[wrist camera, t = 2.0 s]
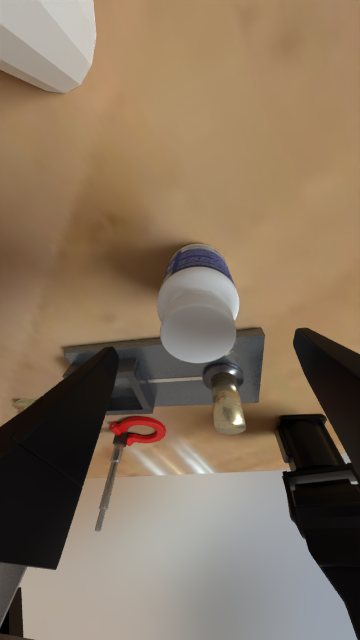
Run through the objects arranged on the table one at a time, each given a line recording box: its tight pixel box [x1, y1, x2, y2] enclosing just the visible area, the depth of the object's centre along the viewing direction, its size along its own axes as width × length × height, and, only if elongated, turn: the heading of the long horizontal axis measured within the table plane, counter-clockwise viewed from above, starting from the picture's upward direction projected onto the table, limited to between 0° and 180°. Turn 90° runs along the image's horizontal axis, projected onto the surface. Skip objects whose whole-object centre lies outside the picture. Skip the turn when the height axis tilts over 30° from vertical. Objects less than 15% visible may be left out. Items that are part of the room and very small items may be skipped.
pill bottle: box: [157, 244, 239, 363], centre depth 13 cm, size 5×5×9 cm
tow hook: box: [95, 417, 166, 531], centre depth 30 cm, size 8×13×9 cm
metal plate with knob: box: [63, 328, 265, 435], centre depth 22 cm, size 23×12×7 cm, turn 100°
